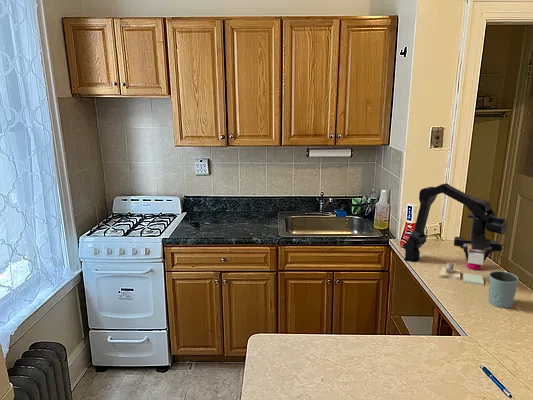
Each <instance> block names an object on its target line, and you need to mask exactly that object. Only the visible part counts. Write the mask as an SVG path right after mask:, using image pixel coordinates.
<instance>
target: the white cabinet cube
mask: <svg viewBox="0 0 533 400" xmlns="http://www.w3.org/2000/svg"><path fill="white" fill-rule="evenodd" d="M484 252H485V250H483V251H481V250H474V249H471V248H468V262H467V263H473V264H480V265H481V266H483V265H484V263H483V261H484Z"/></svg>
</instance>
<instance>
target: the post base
mask: <svg viewBox="0 0 533 400" xmlns="http://www.w3.org/2000/svg"><path fill="white" fill-rule="evenodd" d="M454 265H455V264H454V263H452V262H447V263H446V267H445V266H444V267H443V266H439V268H438V278H440V279H448V280H455V281H461V269H457V268H456V269H455V268H454Z"/></svg>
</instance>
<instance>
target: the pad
mask: <svg viewBox="0 0 533 400" xmlns="http://www.w3.org/2000/svg"><path fill="white" fill-rule="evenodd" d="M462 276H463V283H466V284H472V285H478V286H484V284H485V283H484V282H485V281H484V276H483V275H479V274H473V273H472V274H471V273H463V275H462Z"/></svg>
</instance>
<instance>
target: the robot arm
mask: <svg viewBox="0 0 533 400" xmlns="http://www.w3.org/2000/svg"><path fill="white" fill-rule="evenodd" d="M439 194H443V195H446V196H447V197H449V198H451V199H453V200H455V201H457V202H459V203H460V204H462V205H465V206H466V208H467V209H468V211H470V212H471V213H470V214H469V215H467V218H470V219H472V222H471V223H472V224H471V231H470V235H471V239H470V240H469V239H468V240H467V239H465V237H464V236H454V238H453V246H454V247H460V249H462V250H463V251H464V255H465V260H466V259H467V260H466V262H467V261H468V251H469V248H468V247H469V246H471V245H472V249H474V250H481V251H484V261H483V264H484V263H485V262H486V260H487V258H488V256H489V255H490V254H491V253H494V252H502V251H503V244H502V242H501V241H498V240H492V239H488V238H486V235H487V234H486V233H487V231H488V232H490V233H494V234H498V235H505V234H506V232H507V230H508V222H507V221H506V220H507V218H504V217H499V216H498V217H497V216H496V214H495V212H494V210H493V209H492V205H491V202H489V201H488V200H486V199H483V198H480V197H475V196H471V195H469V194H467V193H465V192H464V191H461V190H459V189H457V188H456V187H454V186H452V185H450V184H449V183H442V184H439V185H437V186H426V187H424V188H422V189H420V191H419V195H418V200H419V204H420V205H419V208H418V213H417V217H416V220H415V223H414V224H415V225H414V228H413V231H412V232H411V234H409V237H408V239H407V241H406V242H405V243H403V244H402V248H403V249H404V250H405V251H404V252H405V253H404V254H405V255H404V261H407V262H414V263H418V262H419V261H420V255H421V251H420V248H422V246H423V245H425V243H427V238H428V235H427V234H426V233H425V229H426V225H427V221H428V217H429V213H430V210H431V206H432V205H433V203H434V202H435V201H436V199H437V197H438V195H439ZM468 245H469V246H468Z"/></svg>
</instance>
